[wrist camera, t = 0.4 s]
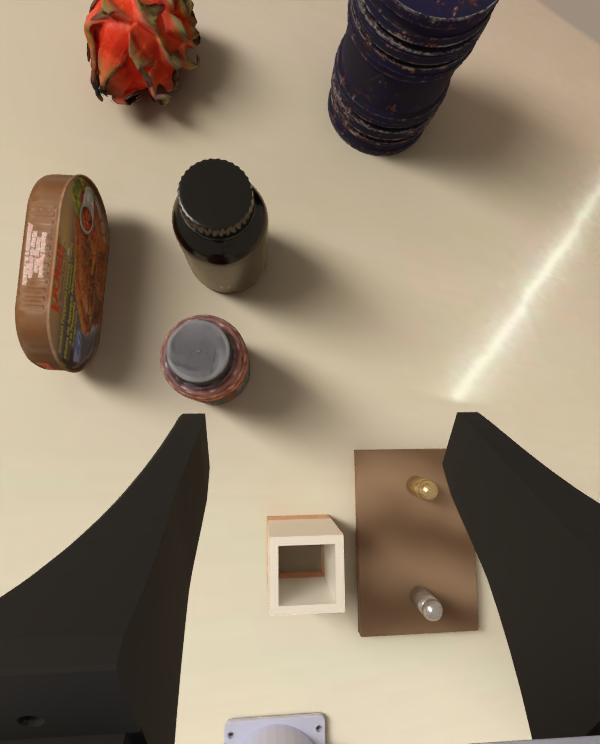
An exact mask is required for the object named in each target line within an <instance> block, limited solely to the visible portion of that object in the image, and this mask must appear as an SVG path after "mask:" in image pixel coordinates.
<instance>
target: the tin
mask: <svg viewBox="0 0 600 744" xmlns="http://www.w3.org/2000/svg"><path fill="white" fill-rule="evenodd" d="M108 250H109V230H108V221H107V215H106V211H105V207H104V204H103V201H102V198H101V196H100V193H99V191H98V189H97V187H96V186H95V184H94V183H93V182H92V181H91V180H90V179H89V178H88V177H86V176H84V175H81V174H80V175H75V176H73V175H46V176H44V177H42V178H41V179H39V180H38V182H37V183H36V184H35V185H34V187H33V189H32V191H31V194H30V197H29V200H28V205H27V212H26V221H25V228H24V236H23V244H22V252H21V261H20V270H19V279H18V289H17V296H16V305H15V323H16V330H17V335H18V339H19V342H20V345H21V347H22V349H23V351H24V353H25V355H26V356H27V358H28V359H29V360H30V361H31V362H32V363H34V364H35V365H37V366H39V367H41V368H43V369H48V370H65V371H68V372H72V373H75V372H79V371H81V370H83V369H84V368H85V367H86V366H87V365H88V364H89V363H90V361H91V359H92V358H93V356H94V354H95V351H96V348H97V345H98V341H99V336H100V328H101V319H102V309H103V299H104V289H105V279H106V270H107V260H108Z"/></svg>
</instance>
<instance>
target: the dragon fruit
mask: <svg viewBox="0 0 600 744" xmlns="http://www.w3.org/2000/svg"><path fill="white" fill-rule="evenodd" d="M193 6H194V4H193V2H192V1H191V0H94V1H93V2H92V4H91V7H90V11H89V14H88V15H87V17H86V21H85V25H84V32H85V35H86V38H87V41H88V42H87V57H88V62H89V61H90V59H91V68H92V71H91V84H92V86H93V88H94V90H95V93H96V96H97V97H98V99H99V100H100V101H102V102H103V98H102V96H101V94H102V93H103V94H104V95H105V96H107V95H112V100H113V101H114V102H115V103H117V104H125V105H131V104H132V103H135V102H137V101H139V100H140V99H141V98H142V97H143V96H144V95H142V96H140V97H139V98H137V96H138V95H134V96H132V97H130V98H129V99H127V100H126V98H127V97H128V96H129V95H130V94H132V93H133V92H135V91H137V90H141V89H145V88H148V90H149V94H150V97H151V98H152V100H153V101H154V102H155V101H157V102H158V103H160V104H161V105H163V106H164V105H166V104H167V103H168V102H169V101H170V100H171V99H172V96H169V95H167V94H159V93H158V92H156V90H157V86H158V84H161V85H163V87H164V89H165V90H166V91H168V92H170V91H172V90H175V89H177V87H178V82H179V75H178V71H179V69H180V68H181V67H183V68H185V69H187V70H193V69H196V68H197V67H198V66H199V64H200V59H199V56H198V55H197V64H194V63H193V62H192V61H189V60H188V59H187V57H186V49H189V48H195V47H196V46H197V45H198V44H200V39H201V38H200V35H199V32H198V31H197V29H196V28H195V25H196V24H197V20H196V18H195V15H194V12H193V10H192V9H193ZM99 88H100V89H99ZM100 93H101V94H100ZM107 97H108V96H107ZM136 98H137V99H136ZM111 102H112V101H111ZM113 104H114V103H113Z"/></svg>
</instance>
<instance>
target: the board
mask: <svg viewBox="0 0 600 744" xmlns="http://www.w3.org/2000/svg"><path fill="white" fill-rule="evenodd" d="M445 452H446V449H393V450H354V454H355V500H356V546H357V592H358V632H359V634H360V636H361V637H369V636H387V635H405V634H423V633H441V632H459V631H477V630H479V629H478V608H477V587H476V566H475V549H474V546H473V544H472V542H471V540H470V537H469V535H468V533H467V531H466V528H465V526H464V524H463V522H462V519H461V517H460V515H459V513H458V510H457V508H456V506H455V503H454V501H453V499H452V496H451V493H450V490H449V487H448V484H447V480H446V477H445V473H444V469H443V465H442V462H443V459H444V456H445ZM412 476H418V477H421V478H424V479H427V480H430V481H432V482H434V483H435V484H436V486H437V488H438V494H437V496H436V498H435V499H433V500H431V501H425V500H423V499H421V498H418V497H416V496H414V495H412V494H410V493H409V492H408V490H407V488H406V483H407V481H408V479H409V478H410V477H412ZM416 586H423V587H425V588H426V589H427V590H428V591H429V592H430V593H431V594H432V595H433V596H434V597H435V598H436V599H437V600H438V601H439V602H440V604H441V606H442V609H443V613H442V616H441V618H440V619H439V620H437V621H430V620H428V619H426V618H425V617H424V616H423V614H422V613H421V612H420V611H419V610H418V609H417V607H416V606H415V605H414V604H413V603H412V601H411V599H410V592H411V590H412V589H413V588H414V587H416Z"/></svg>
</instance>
